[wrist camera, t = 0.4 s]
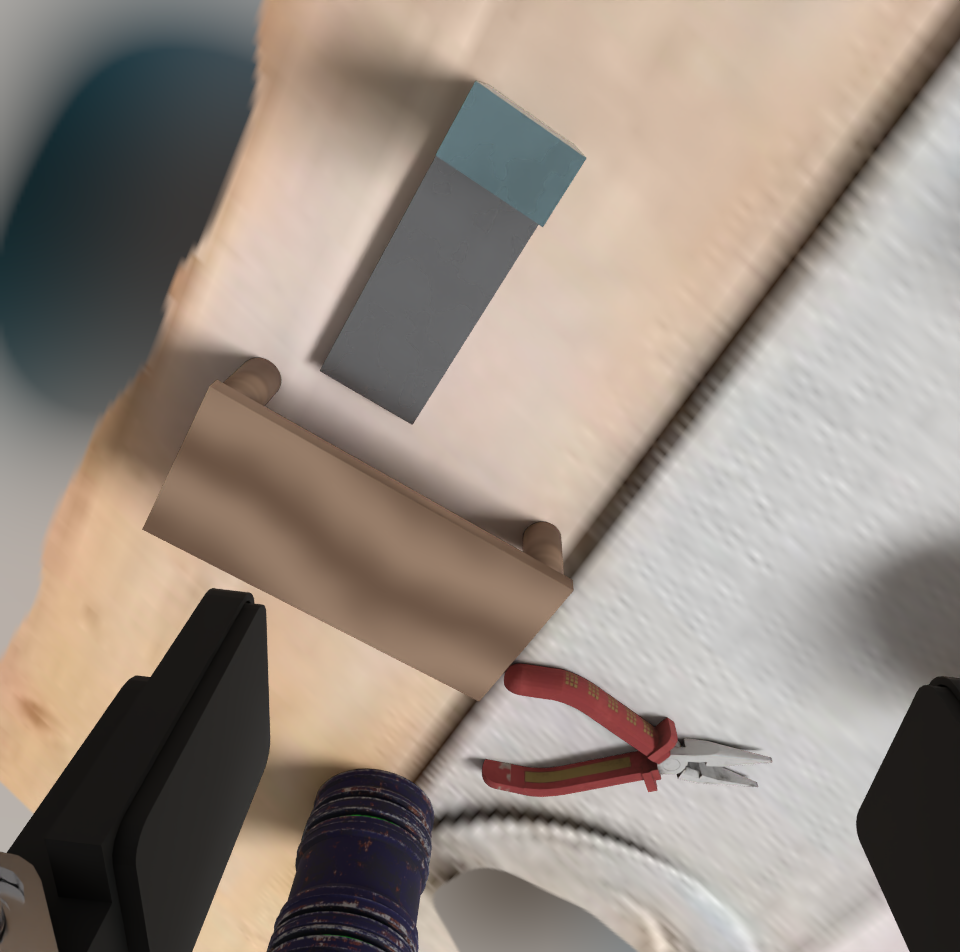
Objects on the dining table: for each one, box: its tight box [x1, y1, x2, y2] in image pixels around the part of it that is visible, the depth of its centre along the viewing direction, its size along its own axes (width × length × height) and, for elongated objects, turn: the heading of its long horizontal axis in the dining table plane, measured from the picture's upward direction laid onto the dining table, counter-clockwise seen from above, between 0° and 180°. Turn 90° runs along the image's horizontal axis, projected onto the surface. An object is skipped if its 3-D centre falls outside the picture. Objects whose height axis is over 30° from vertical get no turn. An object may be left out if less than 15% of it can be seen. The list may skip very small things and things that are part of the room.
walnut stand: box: [142, 358, 573, 701], centre depth 44 cm, size 10×22×6 cm, turn 58°
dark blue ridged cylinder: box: [267, 769, 434, 952], centre depth 53 cm, size 10×10×15 cm
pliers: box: [482, 663, 772, 797], centre depth 53 cm, size 12×20×3 cm, turn 80°
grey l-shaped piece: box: [320, 81, 586, 425], centre depth 35 cm, size 17×6×9 cm, turn 148°
